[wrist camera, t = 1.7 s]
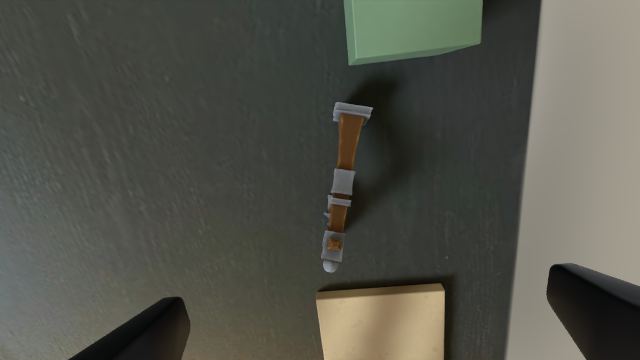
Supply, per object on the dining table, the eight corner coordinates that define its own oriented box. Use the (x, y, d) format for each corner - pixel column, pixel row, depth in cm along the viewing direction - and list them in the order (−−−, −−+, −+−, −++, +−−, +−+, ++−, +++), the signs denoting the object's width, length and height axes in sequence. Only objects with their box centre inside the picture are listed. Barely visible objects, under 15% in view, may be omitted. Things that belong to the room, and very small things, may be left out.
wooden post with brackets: (310, 257, 18) (310, 273, 13) (329, 126, 19) (336, 100, 14) (340, 261, 18) (351, 279, 13) (358, 131, 19) (374, 106, 14)
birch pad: (440, 282, 19) (445, 290, 18) (439, 386, 22) (443, 397, 21) (316, 291, 20) (315, 299, 19) (330, 392, 22) (330, 403, 22)
